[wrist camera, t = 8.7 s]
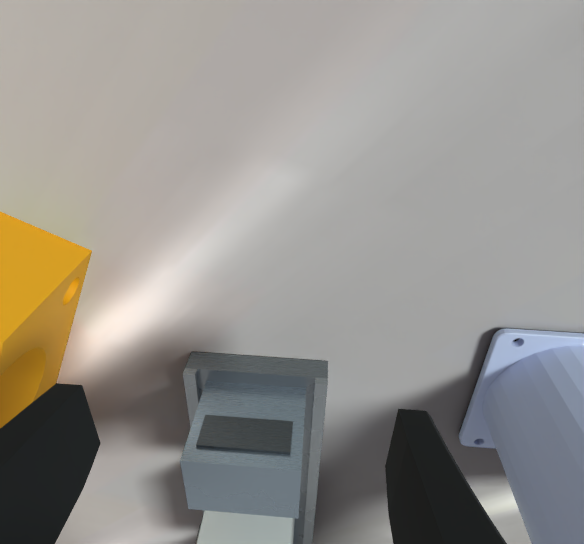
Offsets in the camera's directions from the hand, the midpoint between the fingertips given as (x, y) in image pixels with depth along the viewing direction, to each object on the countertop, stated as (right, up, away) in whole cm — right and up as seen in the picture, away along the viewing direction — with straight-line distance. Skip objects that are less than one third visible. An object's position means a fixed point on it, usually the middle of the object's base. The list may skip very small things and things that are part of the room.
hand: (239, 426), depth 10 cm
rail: (-1, -9, +17) cm, 20 cm away
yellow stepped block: (-12, +1, +13) cm, 18 cm away
